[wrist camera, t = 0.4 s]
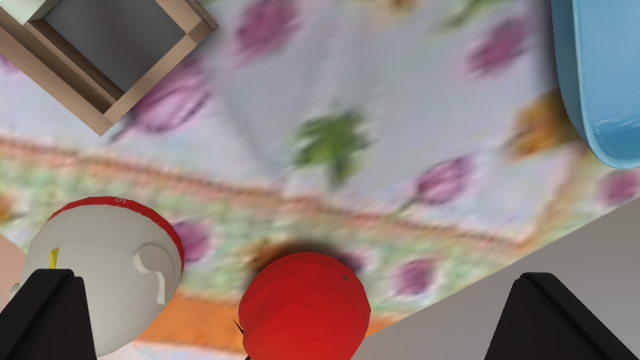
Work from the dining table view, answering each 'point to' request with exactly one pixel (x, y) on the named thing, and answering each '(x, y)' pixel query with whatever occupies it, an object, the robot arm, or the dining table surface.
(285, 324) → the tomato
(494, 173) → the dining table surface
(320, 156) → the dining table surface
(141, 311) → the kitchen timer
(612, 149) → the casserole dish
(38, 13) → the box
